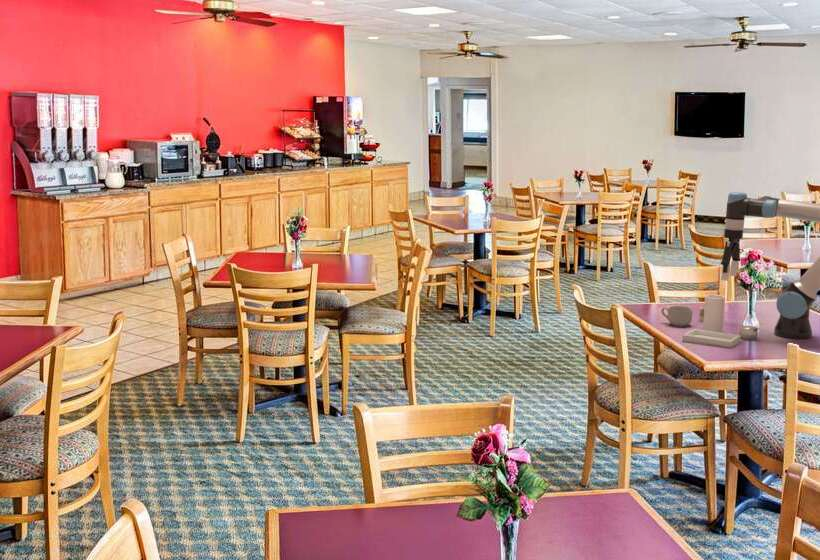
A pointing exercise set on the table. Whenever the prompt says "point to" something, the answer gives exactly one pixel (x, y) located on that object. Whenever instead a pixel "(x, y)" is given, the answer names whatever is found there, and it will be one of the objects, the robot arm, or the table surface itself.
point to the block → (701, 314)
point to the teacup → (678, 315)
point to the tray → (711, 338)
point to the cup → (713, 313)
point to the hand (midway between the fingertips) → (729, 278)
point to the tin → (748, 332)
